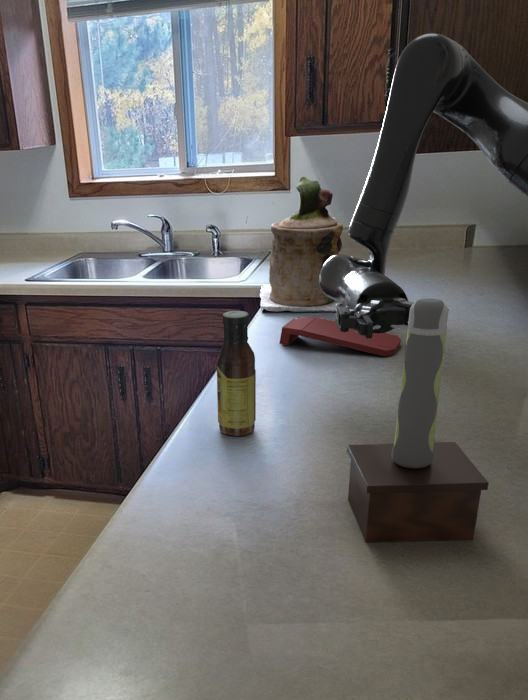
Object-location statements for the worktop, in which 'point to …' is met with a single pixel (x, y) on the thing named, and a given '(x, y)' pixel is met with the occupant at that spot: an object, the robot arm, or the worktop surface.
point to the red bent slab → (338, 336)
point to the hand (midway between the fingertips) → (403, 329)
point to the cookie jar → (302, 254)
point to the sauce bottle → (236, 377)
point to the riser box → (414, 495)
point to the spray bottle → (420, 384)
